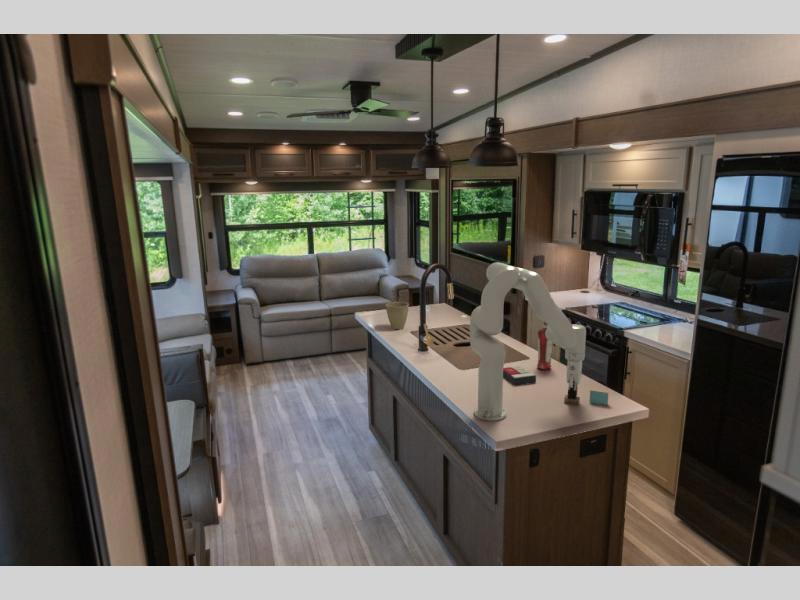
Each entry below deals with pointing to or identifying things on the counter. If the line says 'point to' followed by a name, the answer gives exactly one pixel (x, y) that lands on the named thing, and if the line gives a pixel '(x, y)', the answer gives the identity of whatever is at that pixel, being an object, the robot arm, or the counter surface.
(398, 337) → the counter surface
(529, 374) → the calculator
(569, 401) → the tan stepped block
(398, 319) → the plant pot
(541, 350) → the liquor
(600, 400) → the tile
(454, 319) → the counter surface
